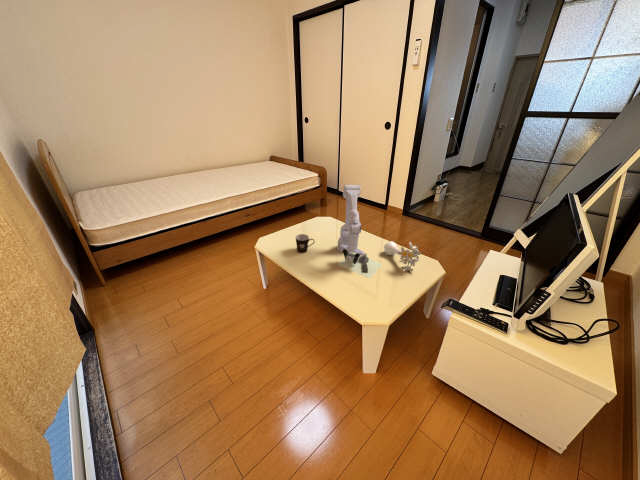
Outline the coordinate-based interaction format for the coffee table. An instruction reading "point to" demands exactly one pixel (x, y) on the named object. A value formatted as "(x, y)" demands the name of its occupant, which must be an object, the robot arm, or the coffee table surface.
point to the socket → (350, 259)
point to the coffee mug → (302, 243)
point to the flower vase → (403, 253)
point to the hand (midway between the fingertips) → (350, 261)
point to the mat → (357, 268)
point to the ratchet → (364, 262)
